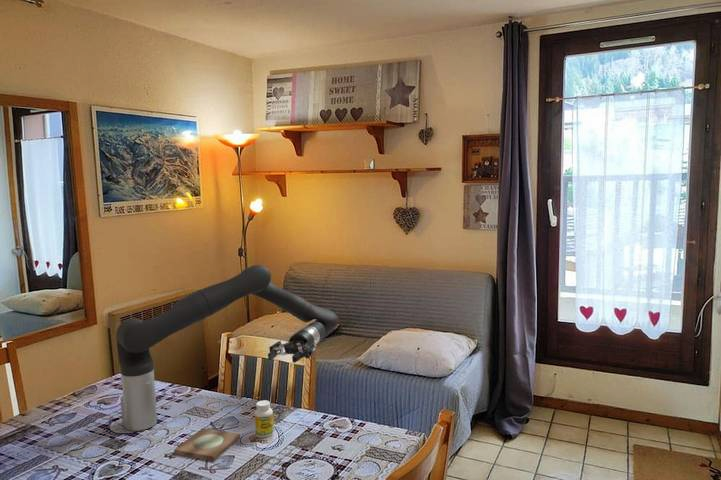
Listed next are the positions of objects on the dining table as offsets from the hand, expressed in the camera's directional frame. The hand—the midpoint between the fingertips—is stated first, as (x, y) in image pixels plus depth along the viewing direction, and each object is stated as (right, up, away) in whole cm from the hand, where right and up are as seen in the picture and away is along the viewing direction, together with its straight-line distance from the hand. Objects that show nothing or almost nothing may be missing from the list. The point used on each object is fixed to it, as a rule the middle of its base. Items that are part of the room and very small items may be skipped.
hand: (281, 358), depth 164 cm
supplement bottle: (-4, -21, -7) cm, 23 cm away
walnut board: (-19, -22, -14) cm, 32 cm away
